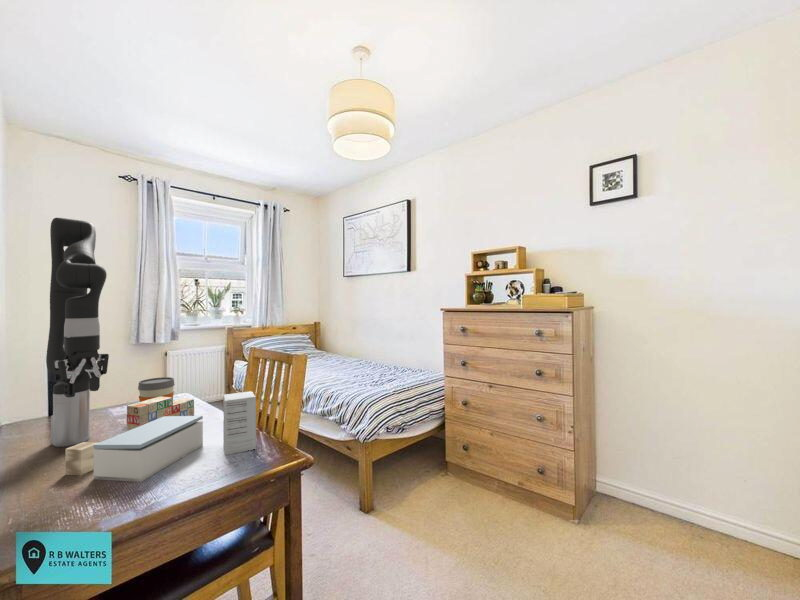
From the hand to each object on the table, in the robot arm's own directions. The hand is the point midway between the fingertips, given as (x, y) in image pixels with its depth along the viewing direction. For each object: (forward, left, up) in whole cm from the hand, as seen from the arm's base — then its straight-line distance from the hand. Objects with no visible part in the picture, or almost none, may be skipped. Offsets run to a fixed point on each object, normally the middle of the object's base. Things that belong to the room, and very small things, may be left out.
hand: (82, 393), depth 100 cm
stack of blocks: (-2, +31, -22) cm, 38 cm away
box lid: (+15, +8, -13) cm, 21 cm away
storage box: (+15, +8, -22) cm, 27 cm away
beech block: (0, 0, -22) cm, 22 cm away
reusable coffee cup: (-18, +46, -22) cm, 54 cm away
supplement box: (+35, +20, -22) cm, 46 cm away
